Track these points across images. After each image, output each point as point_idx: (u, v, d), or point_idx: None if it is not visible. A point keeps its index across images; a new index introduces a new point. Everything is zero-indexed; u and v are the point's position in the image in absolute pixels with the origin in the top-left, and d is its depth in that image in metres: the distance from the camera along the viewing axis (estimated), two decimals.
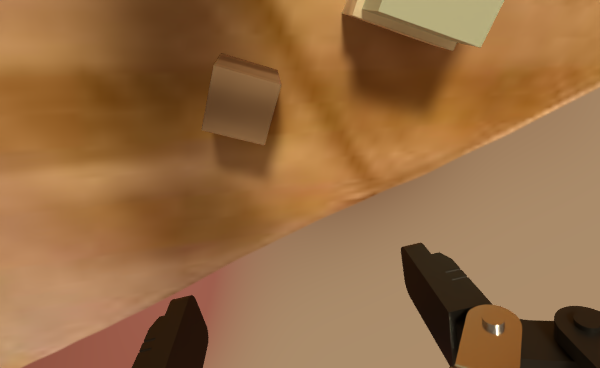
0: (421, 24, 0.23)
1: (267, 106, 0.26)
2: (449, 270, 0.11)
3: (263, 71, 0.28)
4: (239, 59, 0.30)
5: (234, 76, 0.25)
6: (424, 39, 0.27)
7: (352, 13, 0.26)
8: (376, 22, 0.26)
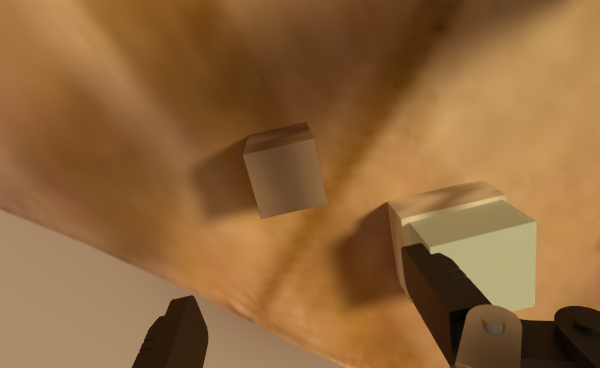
0: None
1: (300, 202, 0.25)
2: (449, 270, 0.11)
3: None
4: None
5: (313, 161, 0.24)
6: None
7: (401, 217, 0.29)
8: (404, 238, 0.29)
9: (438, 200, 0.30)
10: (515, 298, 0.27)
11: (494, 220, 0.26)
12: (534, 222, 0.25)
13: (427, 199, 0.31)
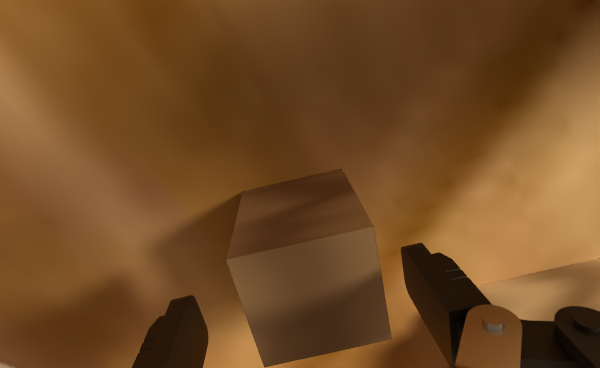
0: None
1: (340, 338, 0.13)
2: (449, 270, 0.11)
3: None
4: None
5: (369, 267, 0.12)
6: None
7: None
8: None
9: (559, 298, 0.18)
10: None
11: None
12: None
13: (535, 291, 0.19)
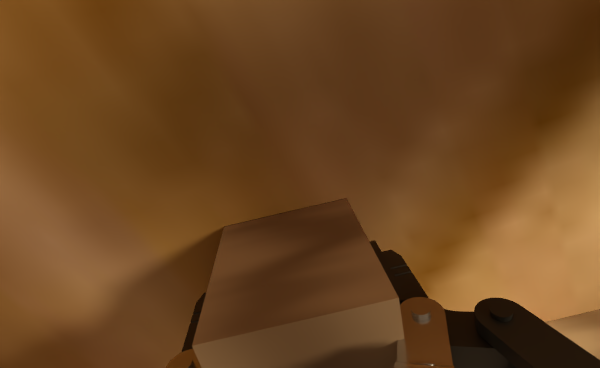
0: None
1: None
2: (396, 266, 0.12)
3: None
4: None
5: (391, 350, 0.09)
6: None
7: None
8: None
9: None
10: None
11: None
12: None
13: (574, 341, 0.16)
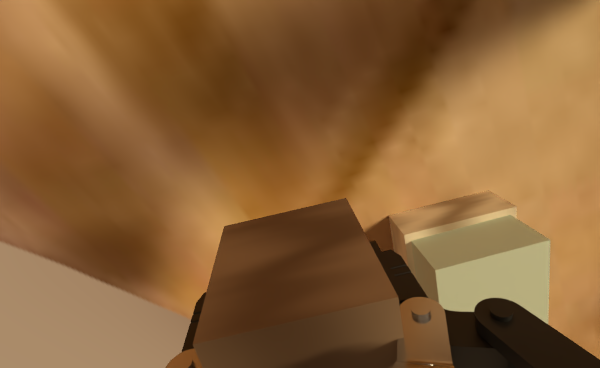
0: None
1: None
2: (396, 266, 0.12)
3: None
4: None
5: (390, 349, 0.09)
6: None
7: (404, 233, 0.27)
8: (408, 256, 0.27)
9: (444, 214, 0.28)
10: None
11: (504, 239, 0.24)
12: (548, 241, 0.23)
13: (431, 212, 0.29)
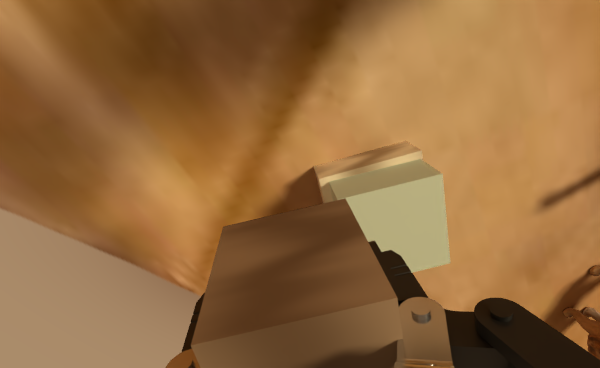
0: None
1: None
2: (396, 266, 0.12)
3: None
4: None
5: (390, 350, 0.09)
6: None
7: (319, 178, 0.29)
8: (325, 199, 0.30)
9: (359, 161, 0.30)
10: (430, 254, 0.28)
11: (405, 175, 0.27)
12: (440, 175, 0.25)
13: (350, 160, 0.31)
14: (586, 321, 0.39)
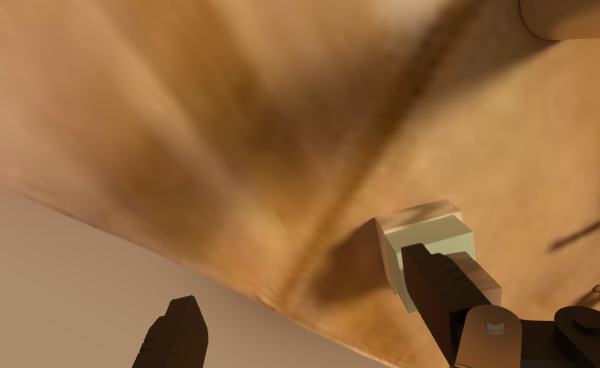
0: (402, 277, 0.36)
1: None
2: (449, 270, 0.11)
3: None
4: None
5: (496, 303, 0.30)
6: (392, 275, 0.41)
7: (384, 230, 0.39)
8: (386, 245, 0.39)
9: (412, 216, 0.40)
10: None
11: (444, 231, 0.36)
12: (471, 232, 0.35)
13: (404, 214, 0.41)
14: None
